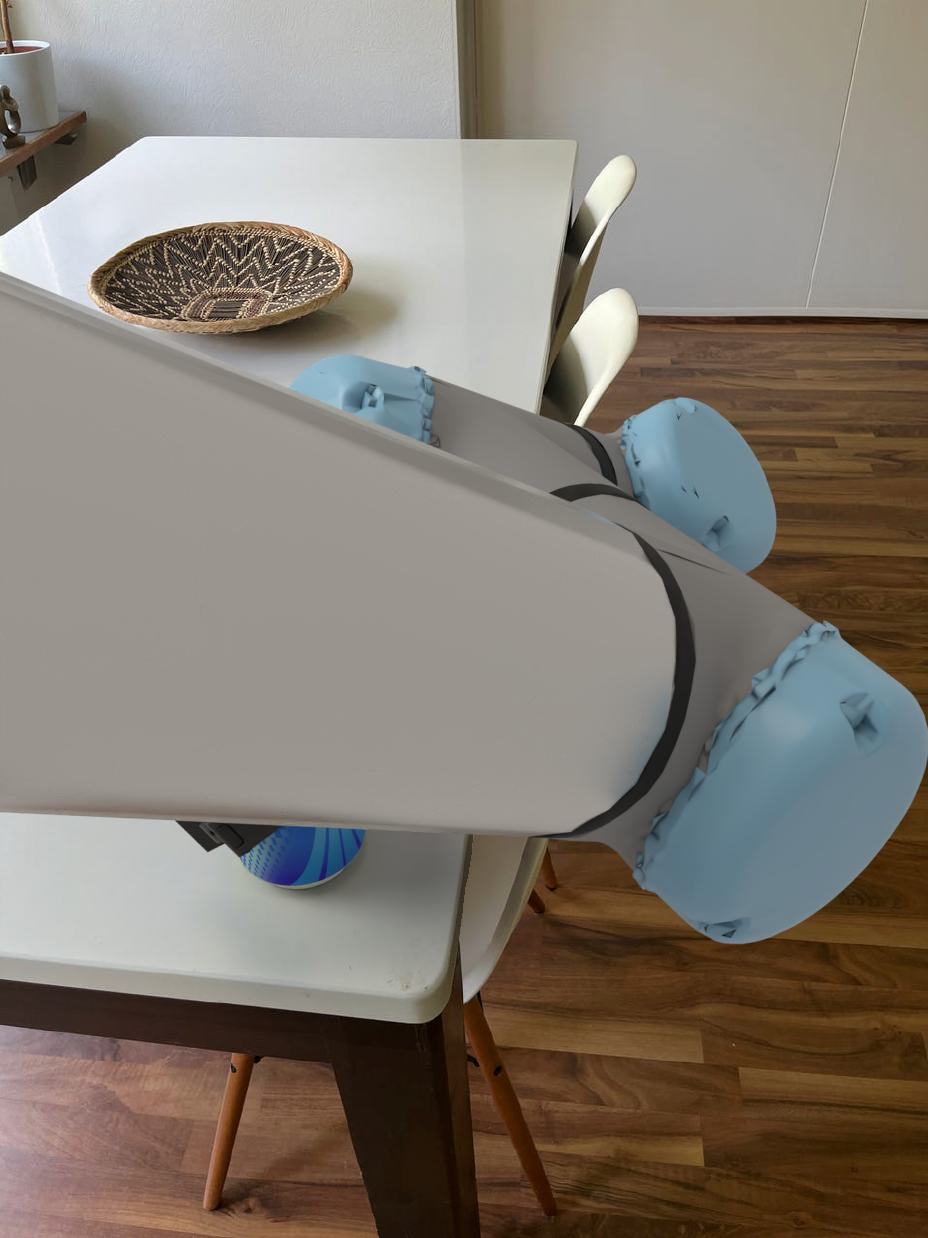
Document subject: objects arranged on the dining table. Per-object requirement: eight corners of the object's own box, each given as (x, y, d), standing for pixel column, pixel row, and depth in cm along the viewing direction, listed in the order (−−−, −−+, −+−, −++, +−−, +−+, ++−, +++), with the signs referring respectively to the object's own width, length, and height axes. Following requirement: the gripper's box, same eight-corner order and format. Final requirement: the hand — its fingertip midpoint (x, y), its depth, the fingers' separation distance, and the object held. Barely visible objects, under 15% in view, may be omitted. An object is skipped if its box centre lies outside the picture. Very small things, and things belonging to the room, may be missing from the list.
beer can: (393, 841, 66) (375, 656, 56) (296, 923, 61) (257, 736, 51) (310, 780, 70) (279, 599, 60) (213, 851, 65) (163, 667, 56)
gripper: (413, 866, 40) (179, 954, 54) (601, 557, 57) (385, 687, 71) (283, 734, 38) (79, 861, 53) (517, 458, 55) (314, 612, 70)
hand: (255, 761), depth 62 cm, fingers open, 12 cm apart
